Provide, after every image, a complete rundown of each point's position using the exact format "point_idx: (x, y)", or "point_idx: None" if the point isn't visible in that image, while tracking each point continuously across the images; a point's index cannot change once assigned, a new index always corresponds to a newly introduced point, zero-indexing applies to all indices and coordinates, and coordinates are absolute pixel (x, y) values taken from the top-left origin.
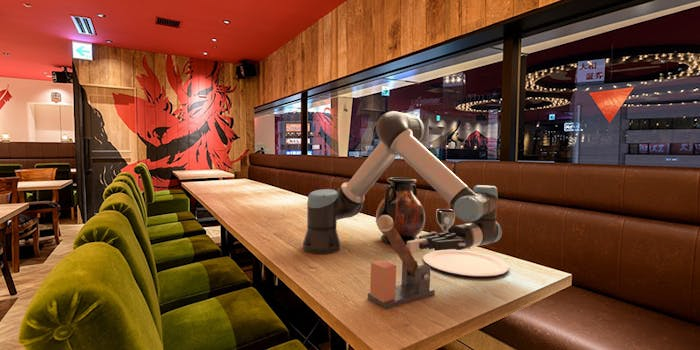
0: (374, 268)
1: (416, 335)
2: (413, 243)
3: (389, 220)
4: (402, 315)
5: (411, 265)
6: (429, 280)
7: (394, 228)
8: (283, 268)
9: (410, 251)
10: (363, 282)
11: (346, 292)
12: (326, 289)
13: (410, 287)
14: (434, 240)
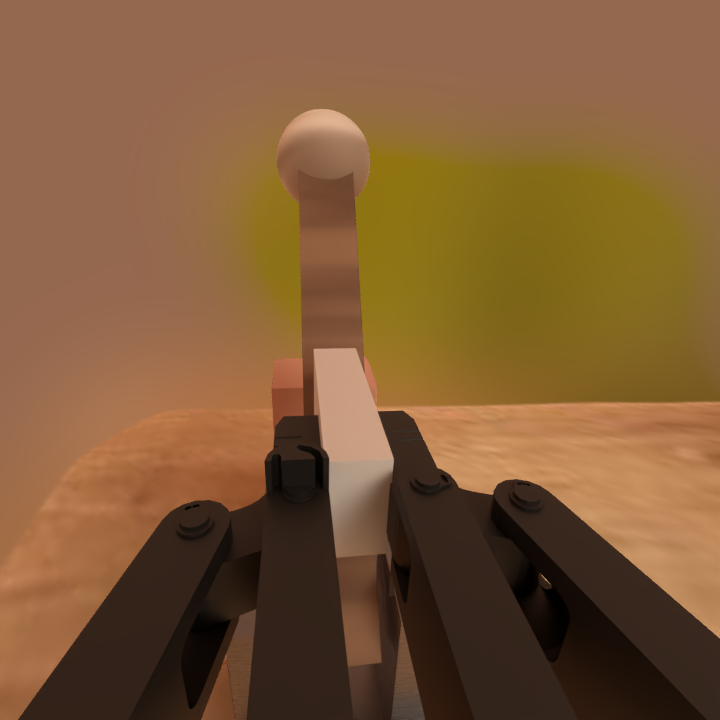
0: None
1: (76, 490)
2: (315, 373)
3: (282, 134)
4: None
5: None
6: (235, 714)
7: (299, 195)
8: (677, 406)
9: (314, 414)
10: None
11: (449, 463)
12: (485, 434)
13: (359, 671)
14: (264, 537)
